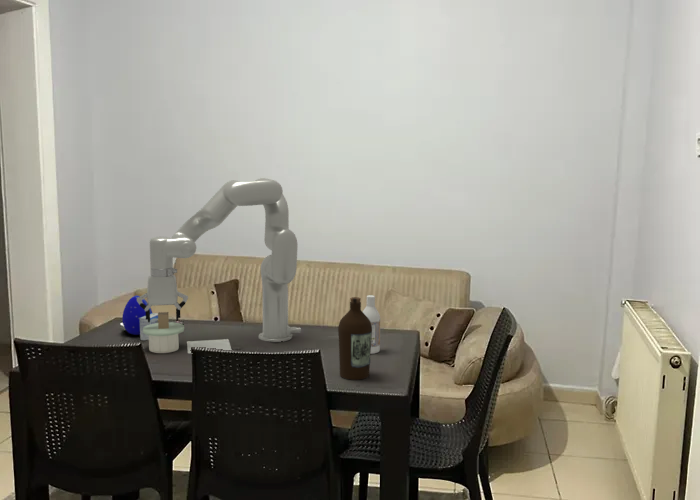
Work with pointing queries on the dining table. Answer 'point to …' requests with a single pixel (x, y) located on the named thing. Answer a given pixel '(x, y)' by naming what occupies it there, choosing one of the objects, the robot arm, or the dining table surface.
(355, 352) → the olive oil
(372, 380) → the dining table surface
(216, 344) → the mat
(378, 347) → the bath foam
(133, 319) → the ornament
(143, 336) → the medicine box
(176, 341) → the bowl
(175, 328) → the lid
